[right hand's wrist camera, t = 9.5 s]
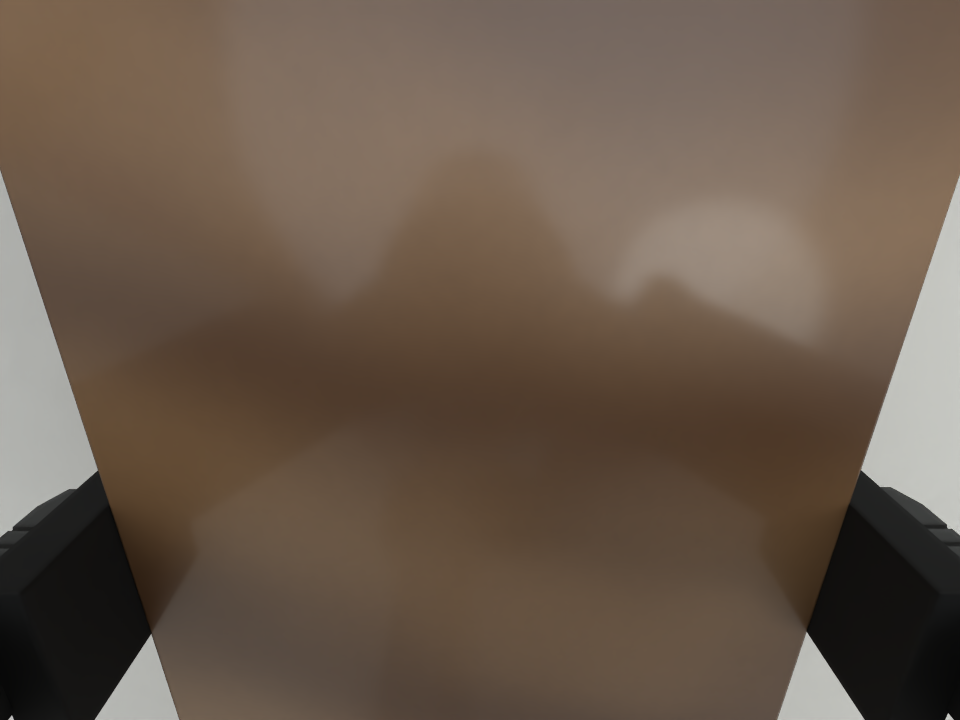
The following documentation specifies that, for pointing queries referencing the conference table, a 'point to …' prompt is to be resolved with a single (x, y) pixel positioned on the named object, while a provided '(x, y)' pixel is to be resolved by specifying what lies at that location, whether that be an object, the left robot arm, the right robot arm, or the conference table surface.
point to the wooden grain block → (479, 330)
